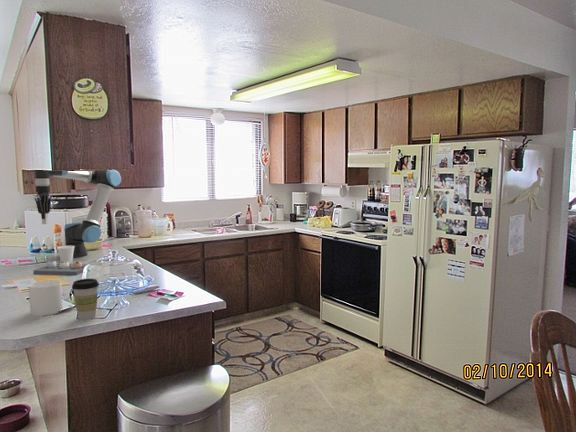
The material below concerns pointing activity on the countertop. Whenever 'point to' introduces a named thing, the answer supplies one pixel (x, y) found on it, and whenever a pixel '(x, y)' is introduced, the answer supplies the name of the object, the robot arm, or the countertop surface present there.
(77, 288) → the coffee cup
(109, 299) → the countertop surface
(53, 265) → the button one
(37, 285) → the cup
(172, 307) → the countertop surface
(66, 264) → the button two
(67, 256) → the cup
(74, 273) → the console
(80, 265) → the button three
